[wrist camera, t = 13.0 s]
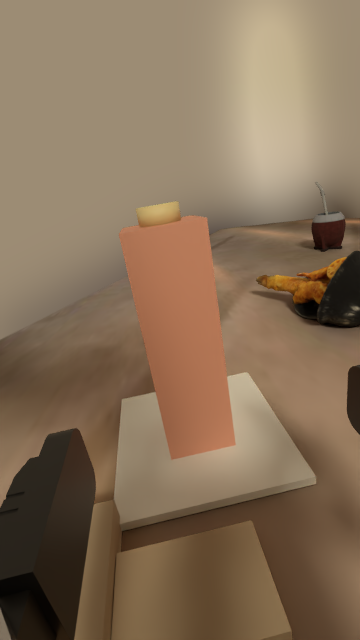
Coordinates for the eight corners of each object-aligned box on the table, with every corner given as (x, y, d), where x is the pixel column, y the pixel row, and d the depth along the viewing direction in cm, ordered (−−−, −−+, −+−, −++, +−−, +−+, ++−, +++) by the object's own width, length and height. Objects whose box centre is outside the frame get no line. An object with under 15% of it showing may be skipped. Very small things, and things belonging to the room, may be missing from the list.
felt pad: (114, 532, 17) (111, 525, 17) (123, 404, 28) (121, 399, 28) (316, 484, 18) (316, 476, 18) (248, 377, 29) (247, 372, 29)
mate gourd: (338, 251, 68) (340, 178, 62) (303, 252, 73) (302, 184, 68) (349, 244, 73) (352, 176, 67) (315, 245, 78) (315, 181, 73)
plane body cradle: (-461, 970, 8) (-535, 959, 8) (-166, 592, 17) (-188, 570, 16) (325, 737, 10) (325, 710, 9) (239, 495, 18) (236, 470, 17)
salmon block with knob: (171, 460, 21) (114, 213, 15) (165, 417, 25) (119, 211, 19) (235, 445, 21) (204, 196, 15) (219, 405, 25) (189, 198, 19)
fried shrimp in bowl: (383, 310, 27) (226, 246, 37) (356, 369, 36) (234, 304, 46) (427, 249, 30) (271, 206, 40) (393, 318, 39) (271, 267, 49)
